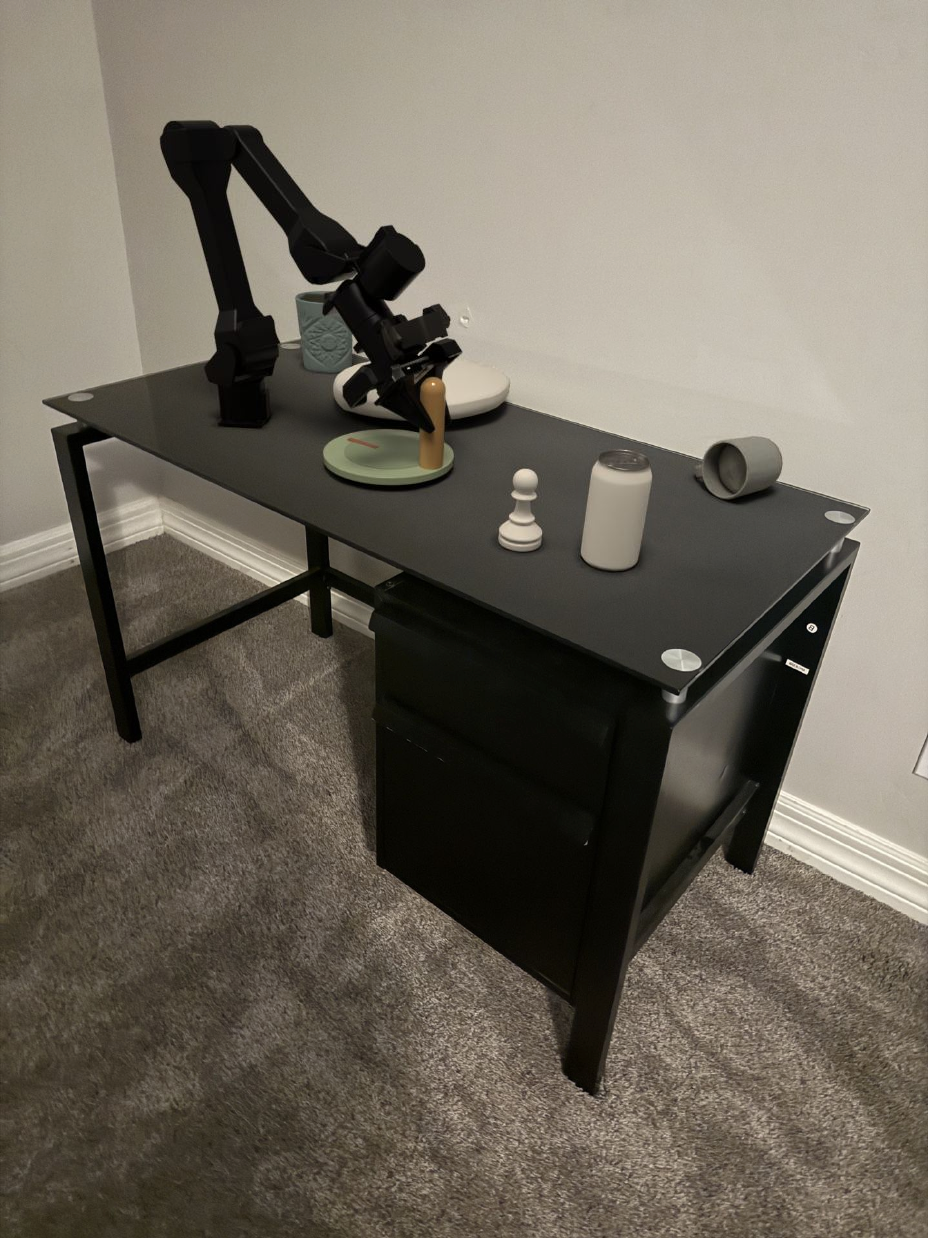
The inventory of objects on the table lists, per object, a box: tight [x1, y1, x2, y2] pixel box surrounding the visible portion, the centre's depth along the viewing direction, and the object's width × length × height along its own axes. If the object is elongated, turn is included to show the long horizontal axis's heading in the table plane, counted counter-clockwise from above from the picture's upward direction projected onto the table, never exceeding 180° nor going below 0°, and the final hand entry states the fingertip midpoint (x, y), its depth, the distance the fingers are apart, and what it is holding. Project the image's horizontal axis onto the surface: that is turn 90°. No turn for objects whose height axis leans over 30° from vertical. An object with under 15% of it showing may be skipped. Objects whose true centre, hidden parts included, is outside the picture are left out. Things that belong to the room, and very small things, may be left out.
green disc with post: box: [322, 377, 455, 486], centre depth 115 cm, size 18×18×13 cm
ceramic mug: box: [694, 435, 784, 500], centre depth 116 cm, size 11×8×8 cm
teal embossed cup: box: [294, 290, 354, 374], centre depth 153 cm, size 10×10×12 cm
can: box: [580, 449, 653, 572], centre depth 96 cm, size 6×6×12 cm
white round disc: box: [332, 358, 511, 422], centre depth 139 cm, size 28×6×27 cm
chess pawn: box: [497, 468, 543, 553], centre depth 99 cm, size 5×5×9 cm
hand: (440, 428), depth 111 cm, fingers closed on green disc with post, 3 cm apart
